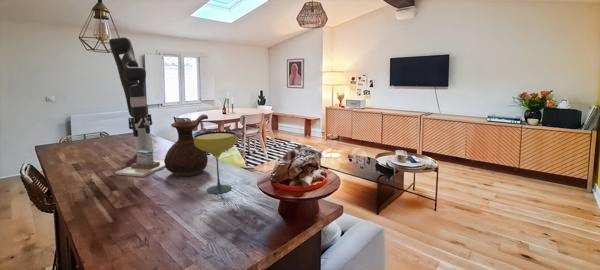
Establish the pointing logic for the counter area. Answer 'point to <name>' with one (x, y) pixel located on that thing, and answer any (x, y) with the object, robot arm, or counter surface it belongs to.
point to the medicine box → (145, 157)
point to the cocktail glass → (216, 151)
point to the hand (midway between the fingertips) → (142, 134)
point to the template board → (141, 169)
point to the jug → (186, 151)
